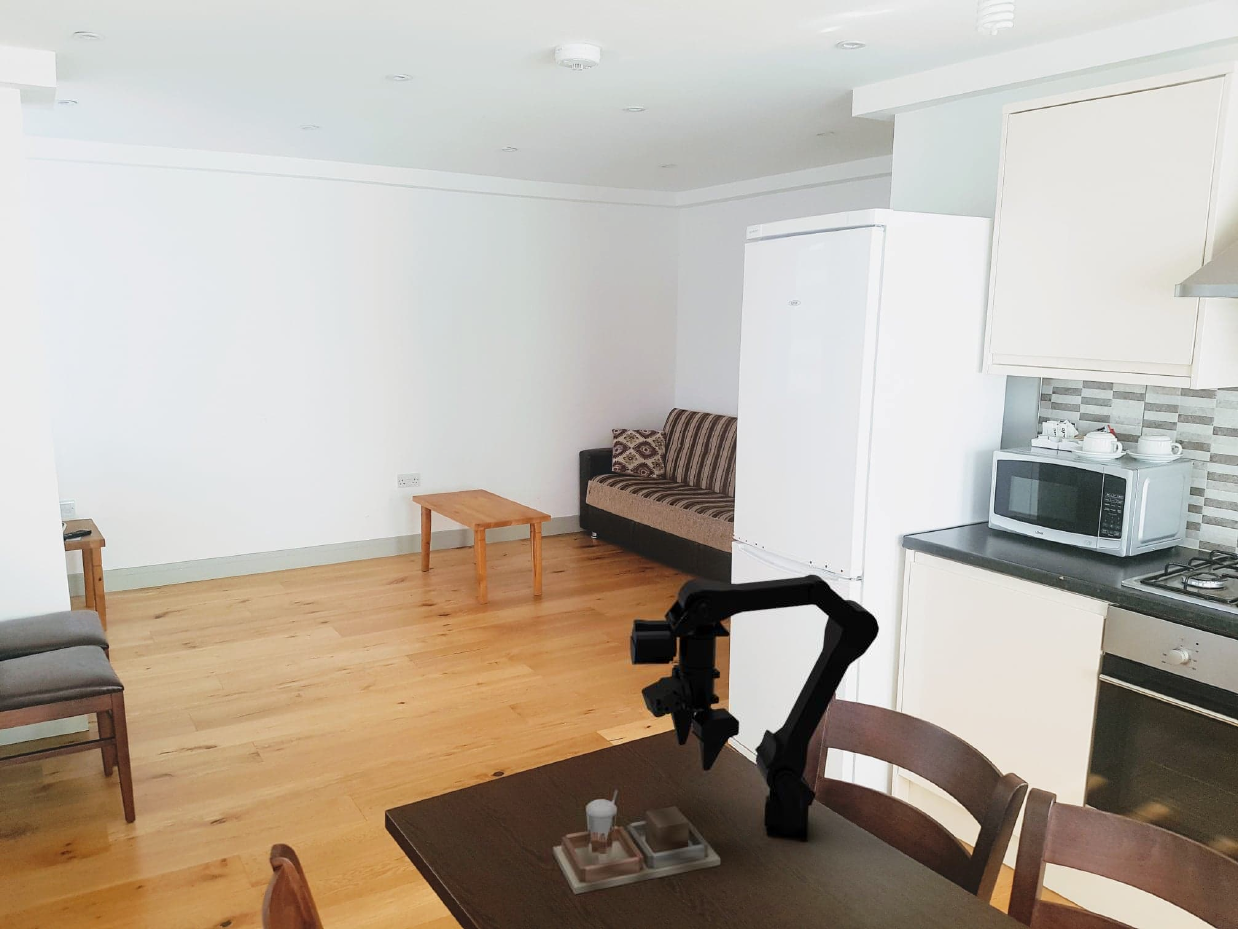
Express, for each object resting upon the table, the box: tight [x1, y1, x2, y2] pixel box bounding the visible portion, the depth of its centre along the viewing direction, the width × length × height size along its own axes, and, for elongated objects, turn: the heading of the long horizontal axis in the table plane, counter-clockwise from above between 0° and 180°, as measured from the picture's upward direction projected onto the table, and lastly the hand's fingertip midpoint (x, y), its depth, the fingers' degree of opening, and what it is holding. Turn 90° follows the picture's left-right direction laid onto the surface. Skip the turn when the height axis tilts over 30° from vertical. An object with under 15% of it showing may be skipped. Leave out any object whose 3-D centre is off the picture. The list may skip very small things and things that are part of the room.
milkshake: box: [585, 789, 618, 865], centre depth 139 cm, size 4×5×10 cm
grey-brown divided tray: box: [552, 805, 721, 895], centre depth 141 cm, size 23×11×6 cm, turn 110°
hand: (693, 757), depth 147 cm, fingers open, 9 cm apart
